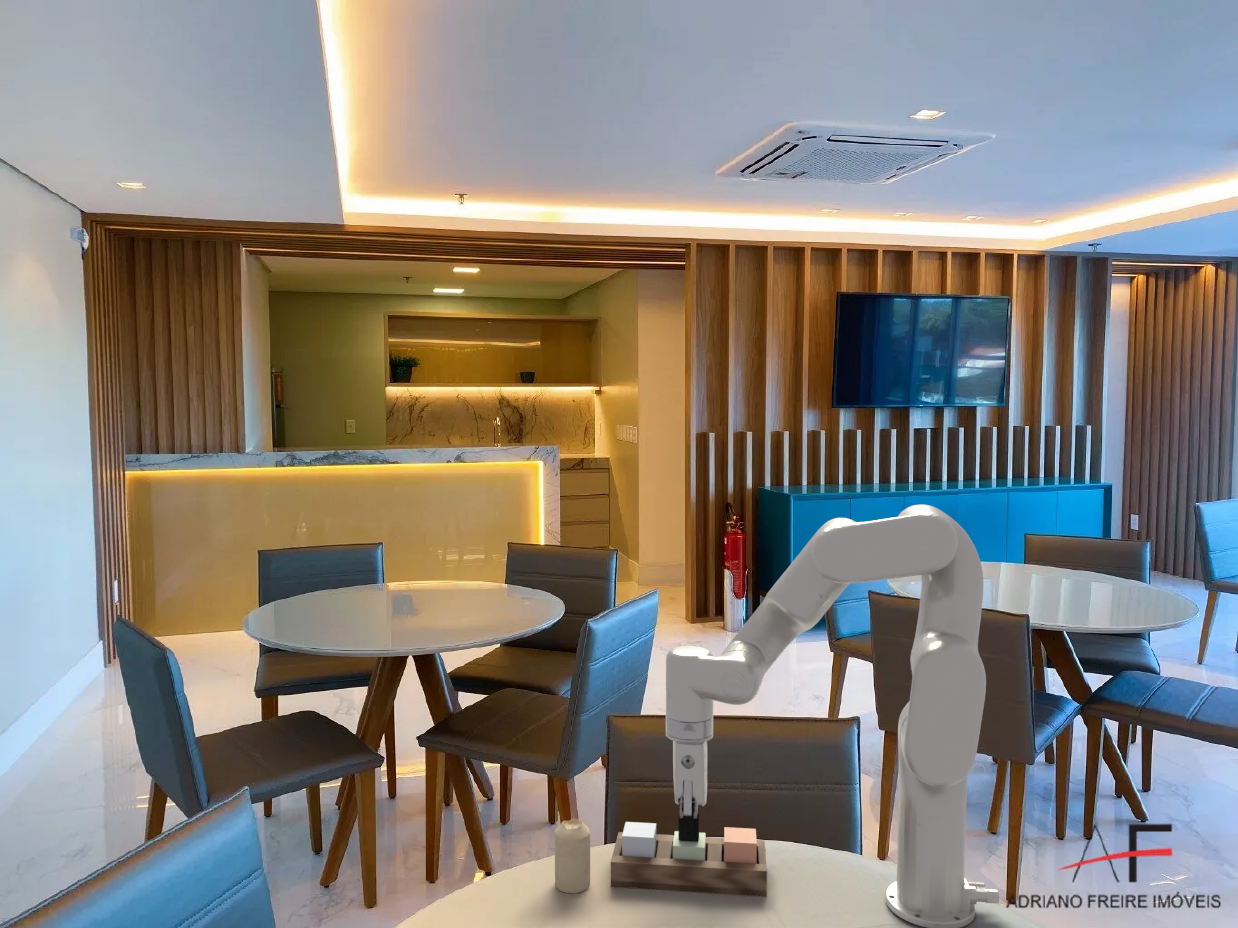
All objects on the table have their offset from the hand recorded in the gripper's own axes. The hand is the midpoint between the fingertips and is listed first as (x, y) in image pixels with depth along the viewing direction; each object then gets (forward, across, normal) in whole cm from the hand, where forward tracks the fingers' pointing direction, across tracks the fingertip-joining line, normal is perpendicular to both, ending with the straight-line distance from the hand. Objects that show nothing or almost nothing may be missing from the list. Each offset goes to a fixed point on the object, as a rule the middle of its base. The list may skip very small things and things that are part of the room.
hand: (688, 838), depth 143 cm
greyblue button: (+3, 0, +8) cm, 9 cm away
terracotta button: (+3, 0, -8) cm, 9 cm away
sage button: (+4, 0, 0) cm, 4 cm away
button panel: (+6, 0, 0) cm, 6 cm away
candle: (+6, -5, +18) cm, 20 cm away
